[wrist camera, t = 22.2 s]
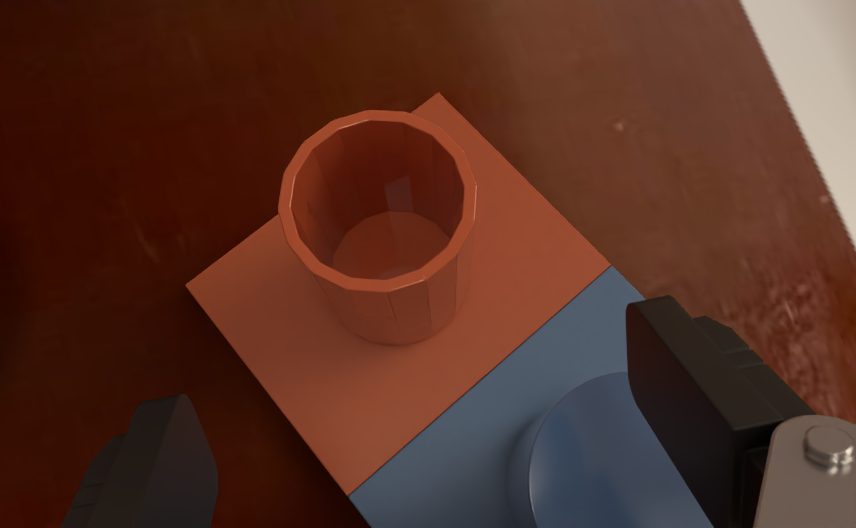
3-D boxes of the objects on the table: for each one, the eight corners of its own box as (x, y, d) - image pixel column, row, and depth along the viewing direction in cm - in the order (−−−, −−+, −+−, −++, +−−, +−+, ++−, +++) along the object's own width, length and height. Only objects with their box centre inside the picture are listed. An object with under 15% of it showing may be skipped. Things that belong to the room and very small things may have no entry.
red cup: (405, 182, 30) (390, 76, 22) (498, 282, 28) (517, 205, 20) (295, 268, 28) (240, 188, 21) (386, 377, 27) (361, 333, 19)
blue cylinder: (585, 373, 27) (639, 327, 19) (700, 496, 25) (808, 498, 18) (471, 477, 26) (480, 472, 18) (583, 612, 24) (646, 669, 16)
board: (438, 101, 32) (438, 91, 31) (813, 476, 26) (824, 476, 25) (191, 290, 29) (184, 285, 28) (547, 753, 23) (550, 761, 23)
